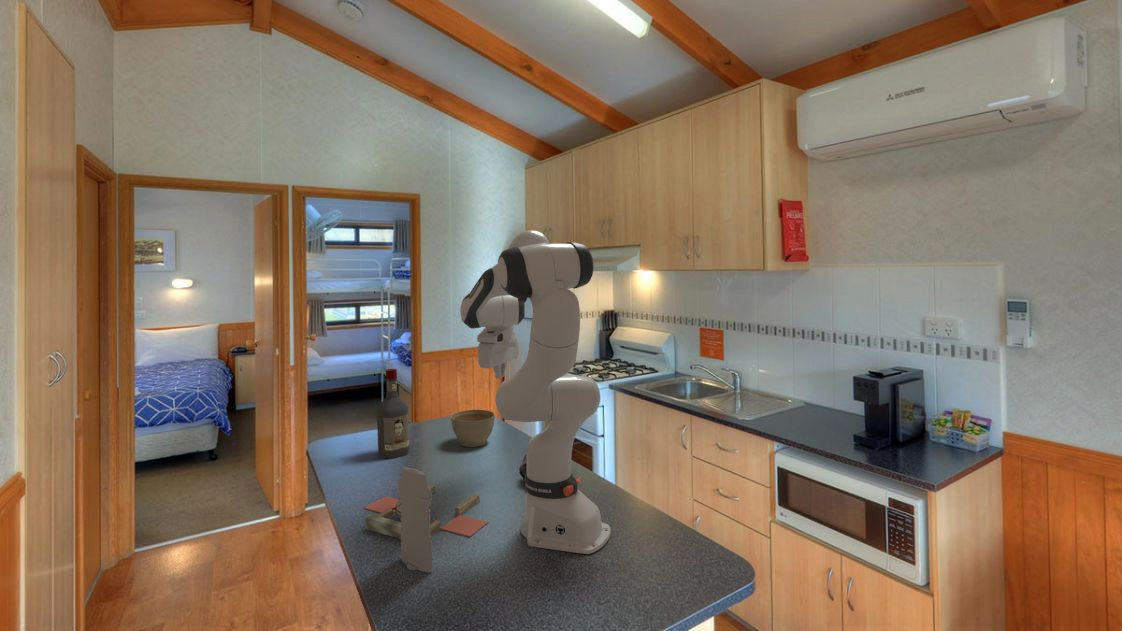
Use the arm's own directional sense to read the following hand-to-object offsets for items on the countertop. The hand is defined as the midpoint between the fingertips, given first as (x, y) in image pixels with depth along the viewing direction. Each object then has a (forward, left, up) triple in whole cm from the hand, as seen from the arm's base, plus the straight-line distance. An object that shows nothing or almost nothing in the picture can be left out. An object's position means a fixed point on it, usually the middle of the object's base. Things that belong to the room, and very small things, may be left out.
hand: (500, 377), depth 165 cm
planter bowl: (+25, -20, -31) cm, 45 cm away
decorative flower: (-15, 0, -31) cm, 35 cm away
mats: (+3, +33, -31) cm, 45 cm away
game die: (+4, +37, -31) cm, 49 cm away
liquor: (+44, +1, -31) cm, 54 cm away
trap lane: (+3, +33, -31) cm, 45 cm away
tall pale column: (-11, +52, -31) cm, 62 cm away
